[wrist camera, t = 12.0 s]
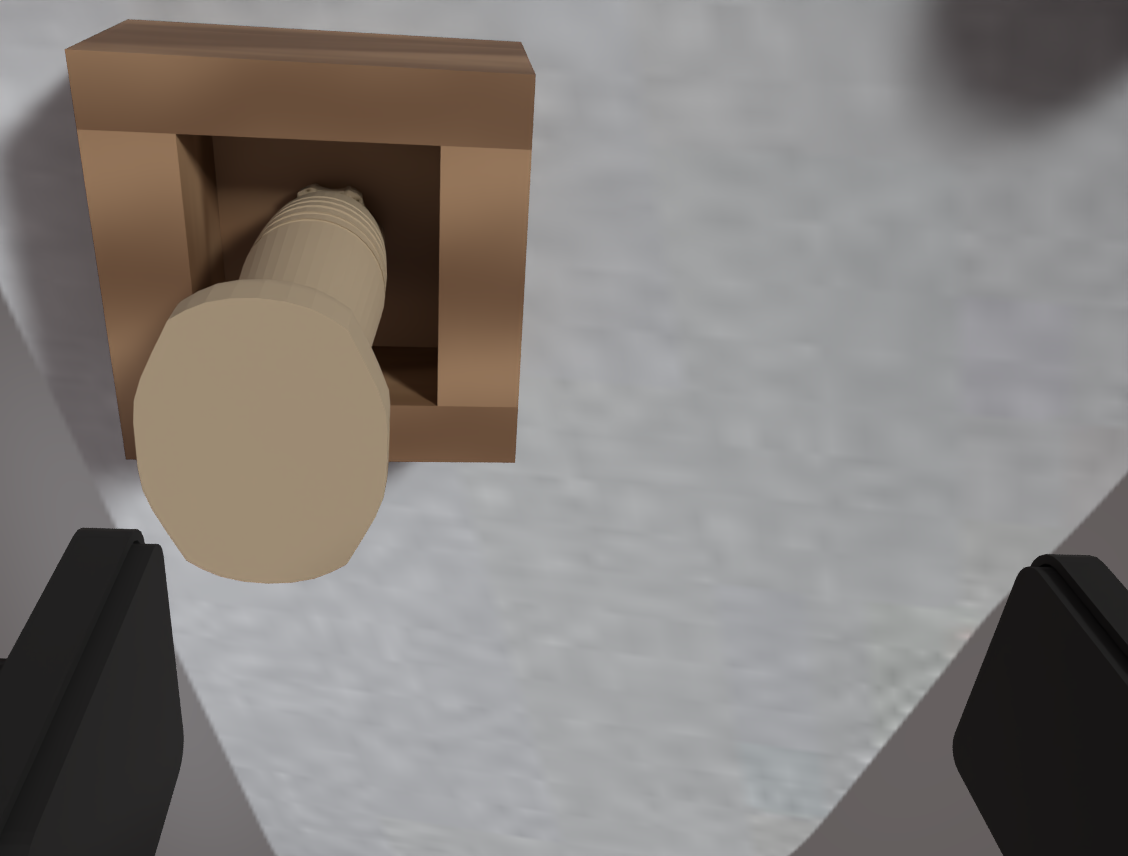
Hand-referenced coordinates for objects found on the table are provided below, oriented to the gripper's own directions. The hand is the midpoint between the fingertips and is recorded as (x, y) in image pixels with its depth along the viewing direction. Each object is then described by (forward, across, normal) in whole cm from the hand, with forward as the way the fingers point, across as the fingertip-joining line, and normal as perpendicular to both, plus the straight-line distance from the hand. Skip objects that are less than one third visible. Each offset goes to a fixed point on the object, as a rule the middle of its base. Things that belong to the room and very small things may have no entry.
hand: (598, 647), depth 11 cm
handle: (+25, +5, +4) cm, 25 cm away
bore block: (+26, +5, +4) cm, 27 cm away
